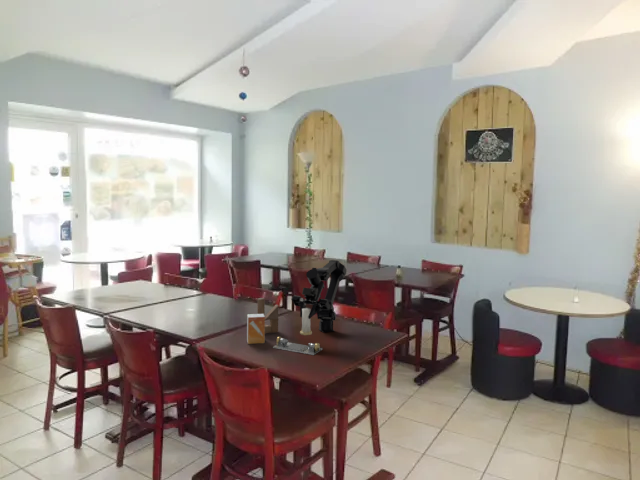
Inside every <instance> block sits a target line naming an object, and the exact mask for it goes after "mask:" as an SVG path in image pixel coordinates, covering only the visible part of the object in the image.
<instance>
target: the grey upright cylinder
mask: <svg viewBox="0 0 640 480" xmlns="http://www.w3.org/2000/svg"><path fill="white" fill-rule="evenodd" d="M311 309H312V308H310V307H306V308H303V309H302V318H301V330H300V331H299V334H300V335H301V336H312V334H313V331H312V330H311V318H310V319H309V318H308V317H309V314H310V312H311Z"/></svg>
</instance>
